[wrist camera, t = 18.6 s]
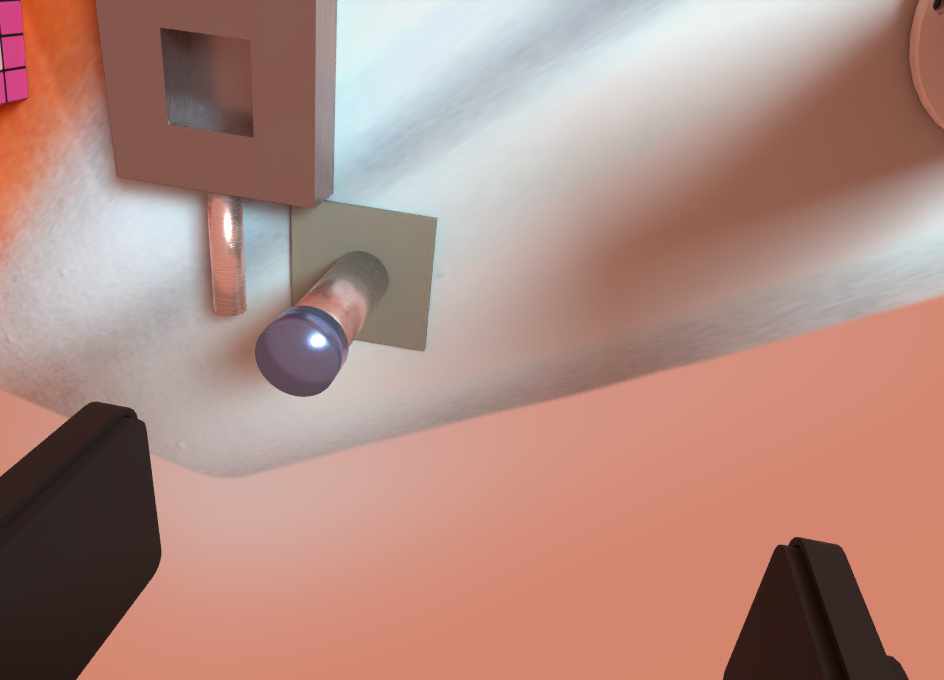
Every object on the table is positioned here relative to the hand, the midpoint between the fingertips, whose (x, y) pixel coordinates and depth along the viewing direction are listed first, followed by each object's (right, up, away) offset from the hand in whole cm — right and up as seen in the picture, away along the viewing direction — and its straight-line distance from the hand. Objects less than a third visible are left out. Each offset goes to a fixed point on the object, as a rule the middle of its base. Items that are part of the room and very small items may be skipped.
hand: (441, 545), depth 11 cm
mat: (-7, +7, +35) cm, 37 cm away
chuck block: (-14, +15, +33) cm, 39 cm away
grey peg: (-7, +7, +35) cm, 36 cm away
